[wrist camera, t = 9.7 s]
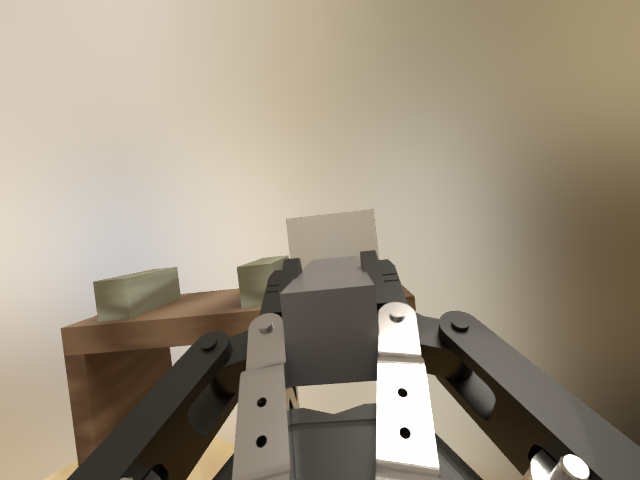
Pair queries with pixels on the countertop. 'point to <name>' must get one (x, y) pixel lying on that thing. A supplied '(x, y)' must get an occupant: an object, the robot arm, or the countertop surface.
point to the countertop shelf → (147, 339)
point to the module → (331, 300)
